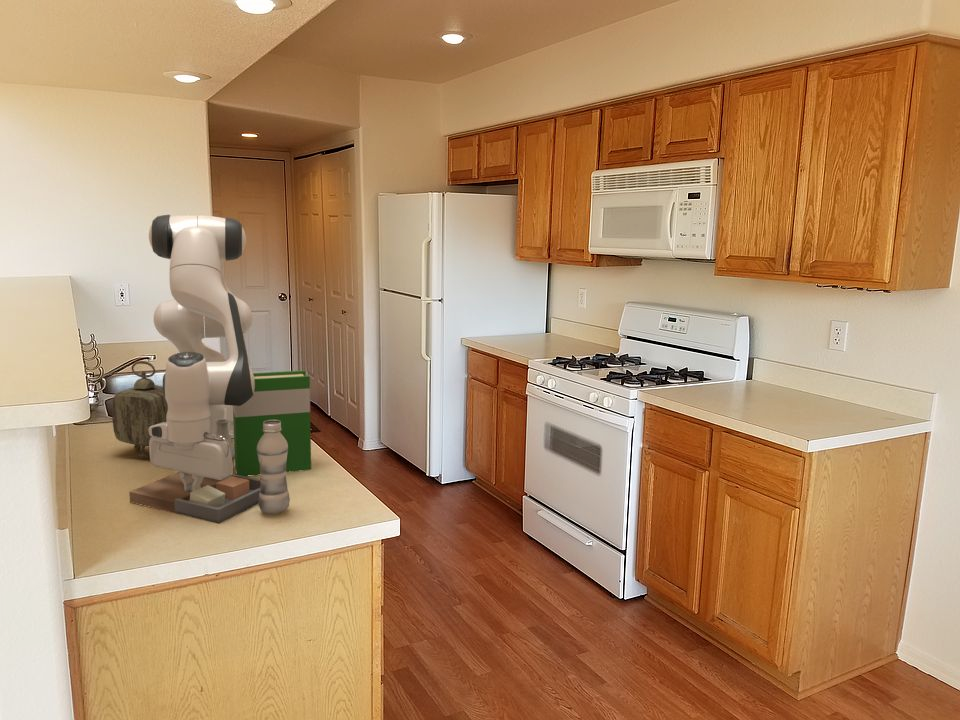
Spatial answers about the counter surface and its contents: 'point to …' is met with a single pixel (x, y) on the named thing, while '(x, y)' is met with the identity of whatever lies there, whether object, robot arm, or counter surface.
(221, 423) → the flask
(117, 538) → the counter surface
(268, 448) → the plastic bottle
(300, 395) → the hardback book
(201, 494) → the cream block
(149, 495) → the walnut board
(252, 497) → the tray
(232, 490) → the orange square block
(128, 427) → the tabletop clock
